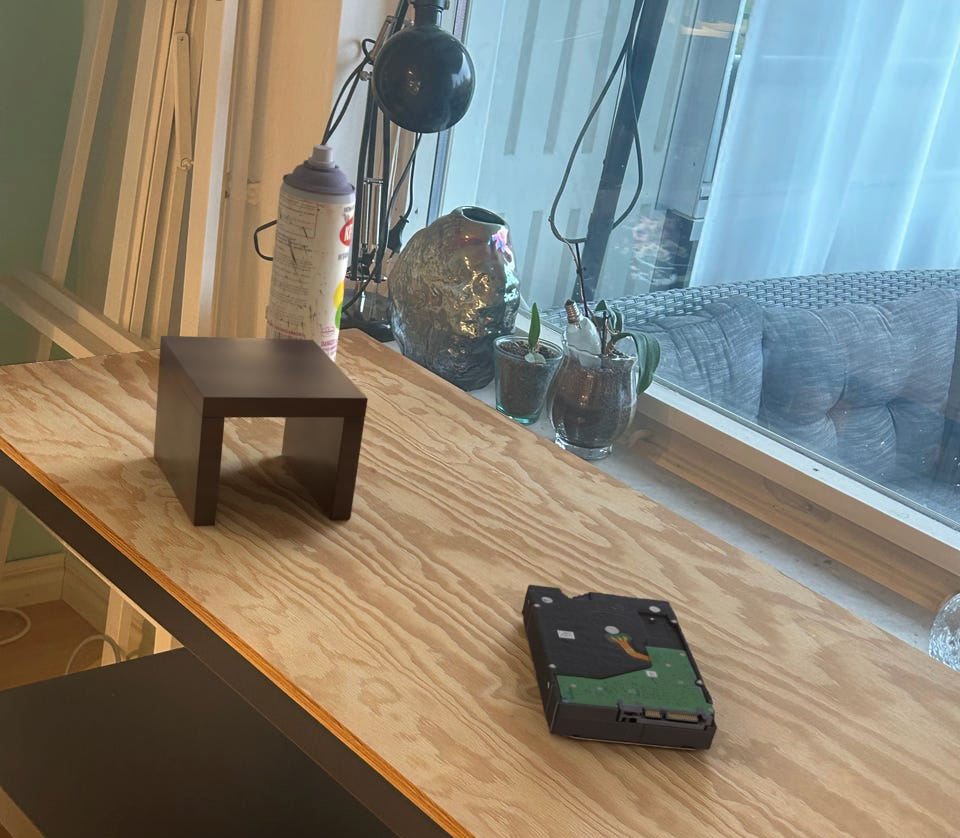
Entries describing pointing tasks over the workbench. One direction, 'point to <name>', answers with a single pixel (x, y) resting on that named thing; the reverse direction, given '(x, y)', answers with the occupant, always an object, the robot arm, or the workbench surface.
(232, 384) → the shelf
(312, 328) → the aerosol can
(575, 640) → the disk drive
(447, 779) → the workbench surface
